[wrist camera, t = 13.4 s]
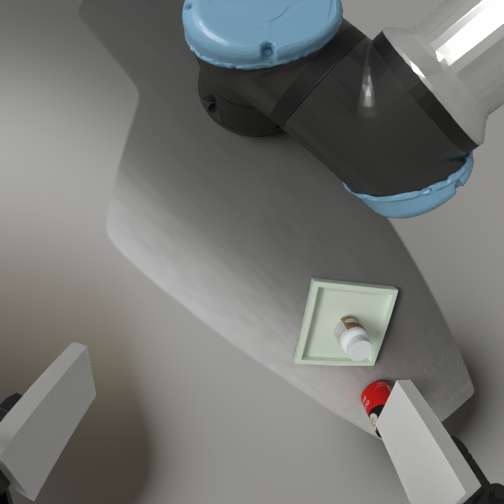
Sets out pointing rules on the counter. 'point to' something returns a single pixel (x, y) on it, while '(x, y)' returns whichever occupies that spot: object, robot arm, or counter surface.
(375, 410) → the beverage can
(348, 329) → the pill bottle
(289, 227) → the counter surface
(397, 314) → the counter surface
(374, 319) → the tray
